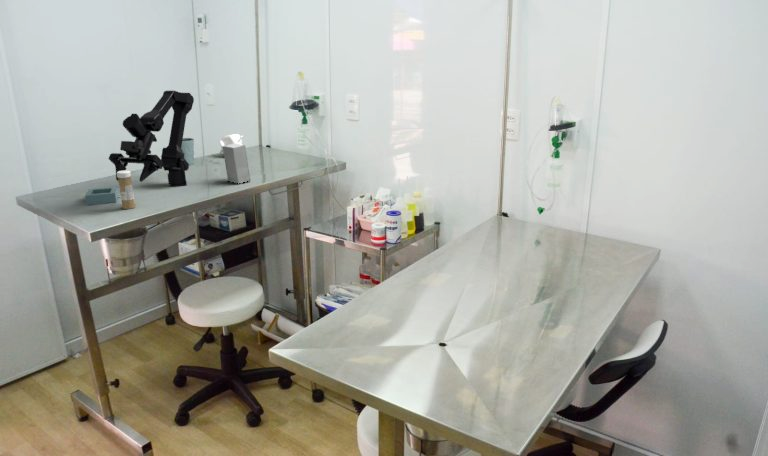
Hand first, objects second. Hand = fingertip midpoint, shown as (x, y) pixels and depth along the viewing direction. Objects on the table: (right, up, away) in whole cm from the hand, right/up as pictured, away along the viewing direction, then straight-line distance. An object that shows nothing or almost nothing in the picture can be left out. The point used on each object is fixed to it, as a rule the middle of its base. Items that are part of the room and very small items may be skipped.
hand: (128, 180), depth 198 cm
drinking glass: (-5, +14, +69) cm, 71 cm away
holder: (-15, -6, +10) cm, 19 cm away
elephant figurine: (+15, +19, +84) cm, 87 cm away
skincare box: (+30, +2, +37) cm, 47 cm away
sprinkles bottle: (0, -10, +1) cm, 10 cm away
